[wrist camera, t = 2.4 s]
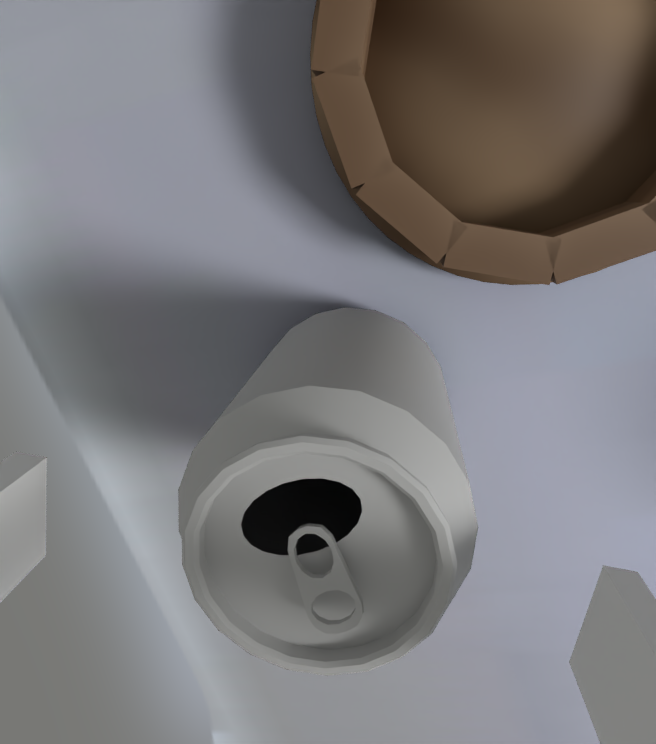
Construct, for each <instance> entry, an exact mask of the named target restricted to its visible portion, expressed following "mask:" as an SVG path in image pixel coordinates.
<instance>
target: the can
mask: <svg viewBox="0 0 656 744" xmlns="http://www.w3.org/2000/svg"><path fill="white" fill-rule="evenodd" d="M178 491H179V532H180V535H181V538H182V565H183V568H184V570H185V573H186V576H187V579H188V582H189V584H190V587H191V590H192V593H193V596H194V598H195V600H196V601H197V603H198V604H199V605H200V607H201V608H202V609H203V611H204V612H205V613H206V615H207V616H208V617H209V619H210V620H211V621H212V623H213V624H214V625H215V627H216V628H217V629H218V630H219V631H220V632H221V633H223V634H224V635H225V636H227V637H228V638H229V639H231V640H232V641H233V642H234V643H236V644H237V645H238V646H240V647H241V648H242V649H244V650H245V651H246V652H248V653H249V654H251V655H253V656H256V657H258V658H260V659H263V660H265V661H267V662H270V663H272V664H275V665H277V666H279V667H282V668H284V669H287V670H292V671H299V672H306V673H312V674H319V675H325V676H329V675H339V674H348V673H358V672H367V671H369V670H372V669H375V668H377V667H380V666H382V665H385V664H387V663H390V662H392V661H395V660H397V659H400V658H402V657H404V656H405V655H406V654H407V653H409V652H410V651H411V650H412V649H413V648H415V647H416V646H417V645H418V644H420V643H421V642H422V641H423V640H424V639H426V638H427V637H428V636H429V635H430V634H432V633H433V631H434V629H435V628H436V626H437V624H438V622H439V621H440V619H441V617H442V616H443V614H444V612H445V611H446V609H447V607H448V606H449V604H450V603H451V601H452V599H453V598H454V596H455V594H456V593H457V591H458V589H459V588H460V586H461V584H462V583H463V581H464V579H465V578H466V576H467V574H468V573H469V571H470V569H471V565H472V559H473V553H474V548H475V542H476V536H477V531H478V524H477V519H476V514H475V509H474V504H473V498H472V493H471V488H470V483H469V479H468V475H467V471H466V467H465V463H464V459H463V455H462V451H461V447H460V443H459V439H458V435H457V431H456V427H455V422H454V418H453V414H452V410H451V406H450V402H449V398H448V394H447V390H446V386H445V382H444V378H443V374H442V370H441V367H440V365H439V363H438V362H437V360H436V358H435V357H434V355H433V353H432V351H431V350H430V348H429V346H428V345H427V343H426V342H425V341H424V340H423V339H422V338H421V337H420V336H418V335H417V334H416V333H415V332H414V331H413V330H412V329H410V328H409V327H408V326H407V325H406V324H405V323H404V322H401V321H399V320H397V319H394V318H392V317H390V316H387V315H385V314H383V313H380V312H378V311H376V310H367V309H356V308H346V307H344V308H340V309H335V310H331V311H326V312H322V313H317V314H314V315H313V316H311V317H309V318H308V319H306V320H304V321H303V322H301V323H299V324H298V325H296V326H294V327H293V328H291V329H290V330H289V331H288V332H287V333H286V334H285V336H284V337H283V338H282V339H281V340H280V341H279V343H278V344H277V345H276V346H275V347H274V349H273V350H272V351H271V352H270V353H269V355H268V356H267V357H266V358H265V360H264V361H263V362H262V364H261V365H260V366H259V367H258V369H257V370H256V371H255V372H254V374H253V375H252V376H251V377H250V379H249V380H248V381H247V383H246V384H245V385H244V386H243V388H242V389H241V390H240V391H239V393H238V394H237V395H236V396H235V398H234V399H233V400H232V402H231V403H230V404H229V405H228V407H227V408H226V409H225V410H224V412H223V413H222V414H221V415H220V417H219V418H218V419H217V421H216V422H215V423H214V424H213V426H212V427H211V428H210V429H209V431H208V432H207V433H206V434H205V436H204V437H203V438H202V440H201V441H200V442H199V443H198V445H197V446H196V447H195V448H194V450H193V451H192V454H191V457H190V459H189V462H188V465H187V468H186V470H185V473H184V476H183V479H182V481H181V484H180V487H179V490H178Z"/></svg>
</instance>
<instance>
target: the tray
mask: <svg viewBox="0 0 656 744" xmlns="http://www.w3.org/2000/svg"><path fill="white" fill-rule="evenodd" d="M310 60H311V82H312V91H313V97H314V103H315V109H316V115H317V119H318V123H319V126H320V130H321V133H322V136H323V140H324V143H325V146H326V149H327V151H328V153H329V156H330V158H331V160H332V162H333V165H334V167H335V169H336V172H337V174H338V175H339V177H340V179H341V180H342V182H343V184H344V185H345V187H346V189H347V190H348V192H349V194H350V195H351V197H352V198H353V199H354V201H355V202H356V203H357V205H358V206H359V207H360V208H361V210H362V211H363V212H364V213H365V215H366V216H367V217H368V218H369V219H370V220H371V221H372V222H373V223H374V224H375V225H376V226H377V227H378V228H379V229H380V230H381V231H382V232H383V233H384V234H385V235H386V236H387V237H388V238H390V239H391V240H392V241H394V242H395V243H396V244H398V245H399V246H400V247H402V248H403V249H404V250H406V251H407V252H408V253H410V254H412V255H414V256H415V257H417V258H419V259H421V260H423V261H425V262H426V263H428V264H430V265H432V266H434V267H437V268H439V269H442V270H444V271H447V272H450V273H452V274H455V275H457V276H461V277H466V278H470V279H474V280H478V281H482V282H490V283H499V284H509V285H520V284H547V285H549V284H550V282H554V283H556V284H559V283H562V282H565V281H568V280H571V279H574V278H577V277H580V276H583V275H586V274H590V273H594V272H597V271H599V270H602V269H604V268H607V267H609V266H612V265H615V264H618V263H621V262H624V261H627V260H630V259H633V258H635V257H638V256H641V255H644V254H647V253H650V252H653V251H656V0H317V1H316V6H315V11H314V17H313V23H312V37H311V51H310Z"/></svg>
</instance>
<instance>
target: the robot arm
mask: <svg viewBox="0 0 656 744" xmlns="http://www.w3.org/2000/svg"><path fill="white" fill-rule="evenodd" d="M46 484H47V457H43V456H38V455H33V454H27V453H22V452H17V451H16V452H14V453H13V454H11V455H10V456H8V457H7V458H5V459H4V460H2V461H1V462H0V602H1V601H2V600H3V599H4V598H5V597H6V596H7V595H8V594H9V593H10V592H11V591H12V590H13V589H14V588H15V587H16V586H17V585H18V584H19V583H20V582H21V581H22V580H23V578H24V577H25V576H26V575H27V574H28V573H29V572H30V571H31V570H32V569H33V568H34V567H35V566H36V565H37V564H38V563H39V562H40V561H41V560H42V559H43V558H44V557H45V556H46V495H47V493H46V490H47V485H46ZM569 663H570V665H571V668H572V671H573V673H574V676H575V678H576V681H577V684H578V686H579V689H580V691H581V694H582V697H583V699H584V702H585V704H586V707H587V710H588V712H589V715H590V717H591V720H592V723H593V725H594V728H595V730H596V733H597V736H598V738H599V741H600V743H601V744H656V599H655V598H654V596H653V595H652V593H651V591H650V590H649V588H648V587H647V585H646V584H645V582H644V581H643V579H642V578H641V576H640V575H639V573H638V572H635V571H629V570H624V569H619V568H614V567H609V566H604V565H603V568H602V571H601V574H600V576H599V579H598V582H597V585H596V588H595V591H594V593H593V596H592V599H591V602H590V605H589V608H588V610H587V613H586V616H585V619H584V622H583V625H582V627H581V630H580V633H579V636H578V639H577V642H576V644H575V647H574V650H573V653H572V656H571V659H570V661H569Z"/></svg>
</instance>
